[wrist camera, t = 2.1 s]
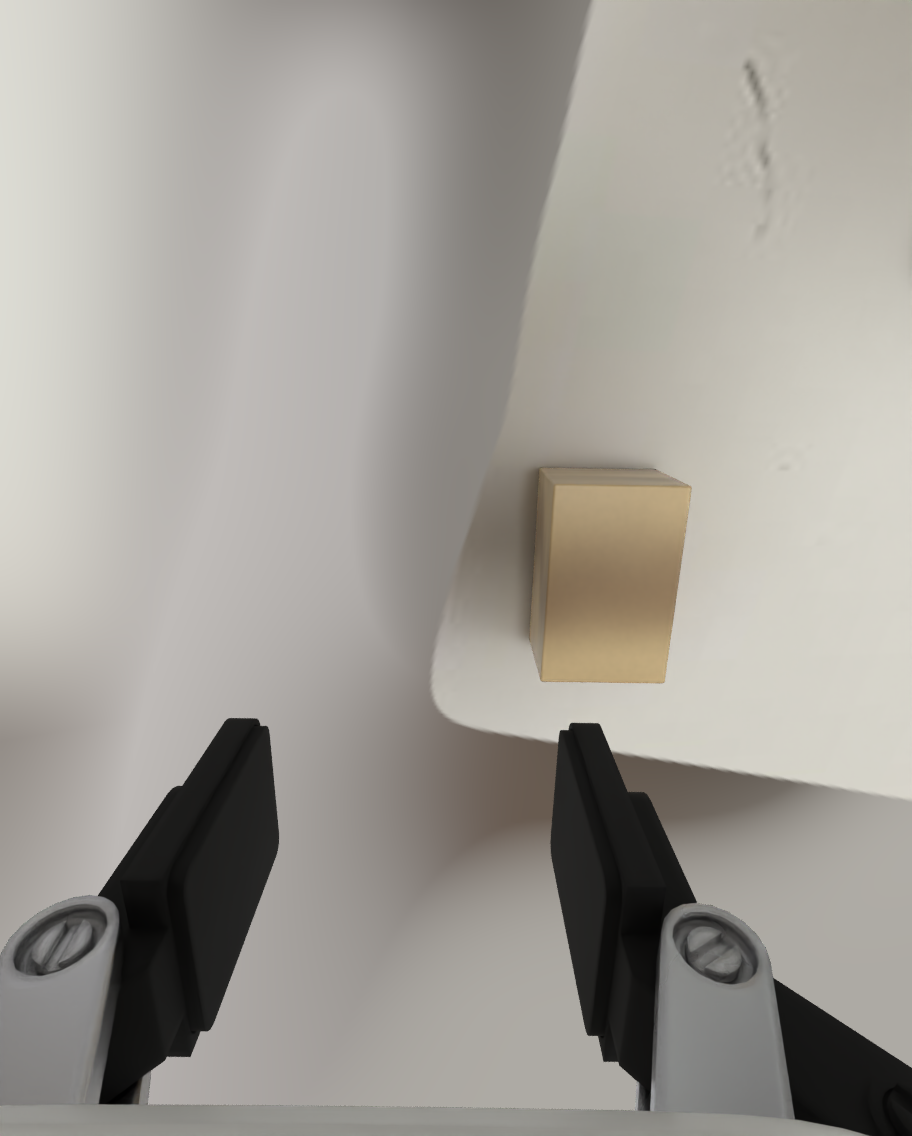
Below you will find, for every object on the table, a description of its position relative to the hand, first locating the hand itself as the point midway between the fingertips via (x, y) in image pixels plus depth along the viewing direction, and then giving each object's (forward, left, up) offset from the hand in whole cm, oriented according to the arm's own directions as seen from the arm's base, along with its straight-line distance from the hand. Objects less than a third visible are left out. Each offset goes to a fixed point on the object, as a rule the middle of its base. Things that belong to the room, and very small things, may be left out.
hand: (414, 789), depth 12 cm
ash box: (-6, +3, -16) cm, 17 cm away
